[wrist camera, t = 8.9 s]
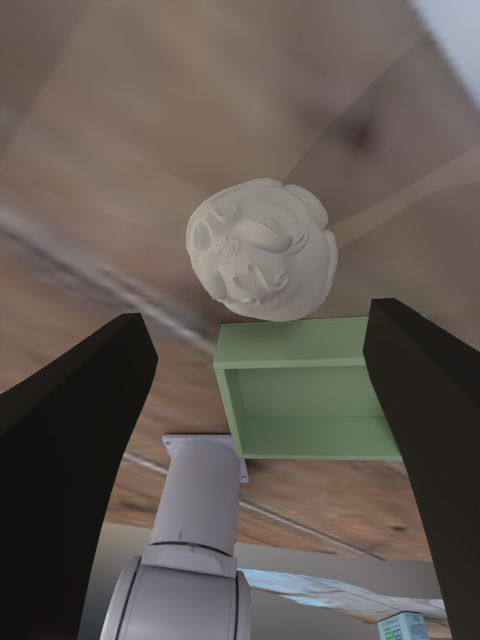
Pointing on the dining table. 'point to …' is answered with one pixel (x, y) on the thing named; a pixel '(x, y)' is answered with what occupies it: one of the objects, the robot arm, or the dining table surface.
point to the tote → (301, 391)
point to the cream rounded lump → (263, 249)
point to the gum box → (403, 627)
